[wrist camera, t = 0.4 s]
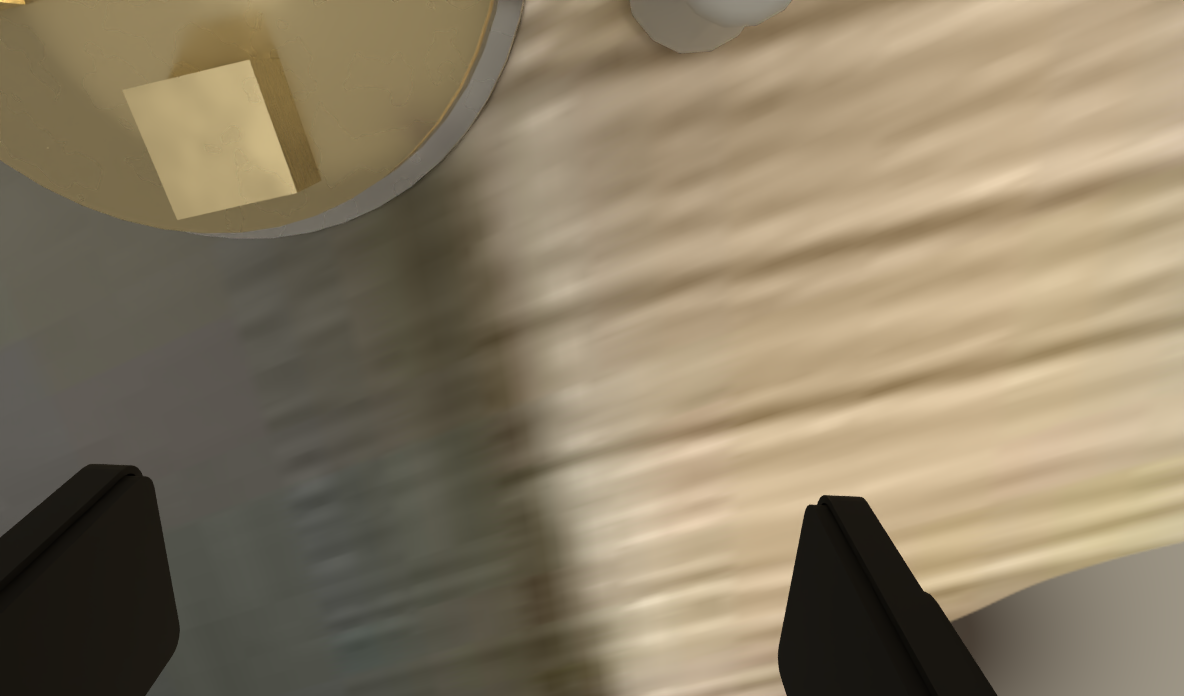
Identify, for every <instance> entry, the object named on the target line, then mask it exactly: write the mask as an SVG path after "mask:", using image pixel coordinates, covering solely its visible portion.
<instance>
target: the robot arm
mask: <svg viewBox="0 0 1184 696" xmlns="http://www.w3.org/2000/svg"><path fill="white" fill-rule="evenodd" d="M179 633H180V627H179V620H178V615H177V609H176V604H175V598H174V593H173V587H172V582H171V576H170V571H169V565H168V560H167V554H166V549H165V543H164V538H163V532H162V527H161V521H160V516H159V510H158V505H157V499H156V494H155V488H154V485H153V482H152V480H151V479H150V478H149V477H147V476H142V473H141V471H140V470H139V469H138V468H137V467H135V466H131V465H108V464H89V465H87V466H86V467H84V468H82V469H81V470H80V471H79V472H78V473H76V474H75V475H74V476H73V477H72V478H70V479H69V480H68V481H67V482H66V483H65V484H63V485H62V486H61V487H60V488H59V489H57V490H56V491H55V492H54V493H53V494H51V495H50V496H49V497H48V498H47V499H46V500H44V501H43V502H42V503H41V504H40V505H38V506H37V507H36V508H35V509H34V510H32V511H31V512H30V513H29V514H28V515H26V516H25V517H24V518H23V519H22V520H21V521H19V522H18V523H17V524H16V525H15V526H13V527H12V528H11V529H10V530H9V531H7V532H6V533H5V534H4V535H3V536H2V537H0V696H145V695H146V694H147V692H148V691H149V689H150V688H151V686H152V685H153V684H154V682H155V681H156V679H157V678H158V676H159V675H160V673H161V672H162V670H163V669H164V667H165V666H166V664H167V663H168V661H169V660H170V658H171V657H172V655H173V653H174V652H175V649H176V647H177V644H178V640H179ZM778 665H779V672H780V676H781V679H782V682H783V685H784V688H785V691H786V695H787V696H997V694H996V693H995V691H994V690H993V688H992V686H991V685H990V683H989V682H988V680H987V679H986V677H985V676H984V674H983V673H982V671H981V669H980V668H979V666H978V665H977V663H976V662H975V661H974V659H973V657H972V655H971V654H970V652H969V651H968V649H967V648H966V646H965V645H964V643H963V642H962V640H961V638H960V637H959V635H958V634H957V632H956V631H955V629H954V628H953V626H952V624H951V623H950V621H949V620H948V618H947V617H946V615H945V614H944V612H943V611H942V609H941V607H940V606H939V604H938V603H937V602H936V600H935V599H934V598H933V597H932V596H931V595H930V594H928V593H926V592H924V591H923V590H922V588H921V586H920V585H919V583H918V582H917V580H916V579H915V577H914V575H913V574H912V572H911V571H910V569H909V568H908V566H907V564H906V563H905V561H904V560H903V558H902V556H901V555H900V553H899V552H898V550H897V549H896V547H895V545H894V544H893V542H892V541H891V539H890V538H889V536H888V534H887V533H886V531H885V530H884V528H883V527H882V525H881V523H880V522H879V520H878V519H877V517H876V515H875V514H874V512H873V511H872V509H871V508H870V506H869V504H868V503H867V501H866V500H865V499H864V498H862V497H853V496H830V495H823V496H822V497H820V499H819V501H818V504H817V505H808V506H807V508H806V510H805V514H804V519H803V524H802V529H801V534H800V539H799V545H798V550H797V555H796V560H795V565H794V570H793V576H792V581H791V586H790V591H789V596H788V602H787V607H786V612H785V617H784V622H783V627H782V633H781V638H780V643H779V649H778Z"/></svg>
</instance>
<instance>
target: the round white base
mask: <svg viewBox="0 0 1184 696" xmlns="http://www.w3.org/2000/svg"><path fill="white" fill-rule="evenodd" d="M523 5H524V0H498V6H497V11H496V15H495V18H494V21H493V24H492V27H491V31H490V34H489V37H488V40H487V43H486V46H485V49H484V52H483V54H482V57H481V59H480V61H479V63H478V65H477V67H476V69H475V72H474V74H473V76H472V78H471V80H470V82H469V84H468V87H467V88H466V90H465V91H464V93H463V94H462V96H461V98H460V99H459V101H458V102H457V104H456V105H455V107H454V108H453V110H452V112H451V113H450V115H449V116H448V118H447V119H446V120H445V122H444V123H443V124H442V125H441V126H440V127H439V129H438V130H437V131H436V132H435V133H434V134H433V136H432V137H431V138H430V139H429V140H428V141H427V142H426V144H425V145H424V146H423V147H422V148H421V149H420V150H418V151H417V152H416V153H415V154H414V155H413V156H412V157H410V158H409V159H408V160H407V161H406V162H405V163H404V164H402V165H401V166H400V167H399V168H398V169H397V170H395V171H394V172H392V173H391V174H389V175H388V176H386V177H384V178H383V179H381V180H380V181H378V182H377V183H375V184H374V185H372V186H371V187H369V188H368V189H366V190H364V191H363V192H361V193H360V194H358V195H357V196H355V197H354V198H352V199H350V200H349V201H347V202H345V203H342V204H340V205H338V206H336V207H334V208H331V209H329V210H327V211H325V212H323V213H321V214H318V215H316V216H314V217H310V218H307V219H304V220H300V221H297V222H293V223H290V224H287V225H283V226H280V227H274V228H268V229H261V230H255V231H248V232H242V233H195V232H188V233H192V234H197V235H205V236H215V237H224V238H233V239H252V238H278V237H284V236H291V235H298V234H304V233H311V232H314V231H318V230H321V229H324V228H328V227H331V226H335V225H338V224H341V223H345V222H347V221H350V220H352V219H354V218H356V217H358V216H361V215H363V214H365V213H367V212H369V211H372V210H374V209H376V208H378V207H380V206H382V205H383V204H385V203H386V202H388V201H390V200H391V199H393V198H394V197H396V196H397V195H399V194H401V193H402V192H404V191H405V190H407V189H408V188H410V187H411V186H413V185H414V184H415V183H416V182H417V181H419V180H420V179H421V178H422V177H423V176H424V175H426V174H427V173H428V172H429V171H430V170H431V169H433V168H434V167H435V166H436V165H437V164H438V163H440V162H441V161H442V160H443V159H444V158H445V157H446V156H447V154H448V153H449V152H450V151H451V150H452V149H453V148H454V146H455V145H456V144H457V143H458V142H459V141H460V140H461V138H462V137H463V136H464V135H465V134H466V133H467V132H468V130H469V129H470V127H471V126H472V124H473V123H474V121H475V120H476V118H477V116H478V115H479V113H480V112H481V110H482V109H483V107H484V106H485V104H486V103H487V101H488V100H489V98H490V96H491V94H492V92H493V90H494V88H495V86H496V84H497V82H498V79H499V77H500V75H501V73H502V71H503V69H504V67H505V65H506V63H507V60H508V57H509V54H510V51H511V48H512V45H513V42H514V39H515V36H516V33H517V30H518V27H519V24H520V20H521V15H522V10H523ZM184 232H185V231H184Z"/></svg>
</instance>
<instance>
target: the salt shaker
mask: <svg viewBox="0 0 1184 696" xmlns="http://www.w3.org/2000/svg"><path fill="white" fill-rule="evenodd" d="M629 1H630V6H631V11H632V15H633V17H634V18H635V19H636V20H637V22H638V23H639V24H640V25H641V26H642V28H643V29H644V30H645V31H646V33H647V34H648V35H649V36H650V37H651V39H652V40H653V41H655V42H657V43H660V44H662V45H664V46H666V47H668V48H670V49H672V50H674V51H676V52H678V53H694V52H708V51H712V50H714V49H716V48H718V47H719V46H721V45H723V44H725V43H726V42H728V41H730V40H732V39H734V38H735V37H737V36H738V35H739V34H740V33H741V31H742V30H743V28H744V27H745V26H756V25H758V24H760V23H762V22H764V21H765V20H767V19H769V18H771V17H773V16H774V15H776V14H778V13H780V12H782V11H783V10H785V9H786V7H787V6H788V5H789V3H790V2H791V1H792V0H629Z"/></svg>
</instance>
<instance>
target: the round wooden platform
mask: <svg viewBox="0 0 1184 696" xmlns="http://www.w3.org/2000/svg"><path fill="white" fill-rule="evenodd" d="M497 6H498V0H0V160H1V161H3V162H4V163H5V164H7V165H9V166H10V167H12V168H14V169H15V170H17V171H18V172H20V173H22V174H23V175H25V176H27V177H28V178H30V179H31V180H33V181H35V182H36V183H38V184H40V185H41V186H43V187H45V188H47V189H49V190H51V191H53V192H55V193H57V194H59V195H61V196H64V197H66V198H68V199H70V200H72V201H74V202H76V203H78V204H80V205H82V206H85V207H88V208H91V209H93V210H96V211H99V212H102V213H105V214H108V215H110V216H113V217H116V218H119V219H122V220H125V221H130V222H134V223H139V224H143V225H147V226H152V227H156V228H160V229H167V230H176V231H185V232H195V233H242V232H248V231H255V230H261V229H268V228H274V227H280V226H283V225H287V224H290V223H293V222H297V221H300V220H304V219H307V218H310V217H314V216H316V215H318V214H321V213H323V212H325V211H327V210H329V209H331V208H334V207H336V206H338V205H340V204H342V203H345V202H347V201H349V200H350V199H352V198H354V197H355V196H357V195H358V194H360V193H361V192H363V191H364V190H366V189H368V188H369V187H371V186H372V185H374V184H375V183H377V182H378V181H380V180H381V179H383V178H384V177H386V176H388V175H389V174H391V173H392V172H394V171H395V170H397V169H398V168H399V167H400V166H401V165H402V164H404V163H405V162H406V161H407V160H408V159H409V158H410V157H412V156H413V155H414V154H415V153H416V152H417V151H418V150H420V149H421V148H422V147H423V146H424V145H425V144H426V142H427V141H428V140H429V139H430V138H431V137H432V136H433V134H434V133H435V132H436V131H437V130H438V129H439V127H440V126H441V125H442V124H443V123H444V122H445V120H446V119H447V118H448V116H449V115H450V113H451V112H452V110H453V108H454V107H455V105H456V104H457V102H458V101H459V99H460V98H461V96H462V94H463V93H464V91H465V90H466V88H467V87H468V84H469V82H470V80H471V78H472V76H473V74H474V72H475V69H476V67H477V65H478V63H479V61H480V59H481V57H482V54H483V52H484V49H485V46H486V43H487V40H488V37H489V34H490V31H491V27H492V24H493V21H494V18H495V15H496V11H497Z"/></svg>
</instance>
